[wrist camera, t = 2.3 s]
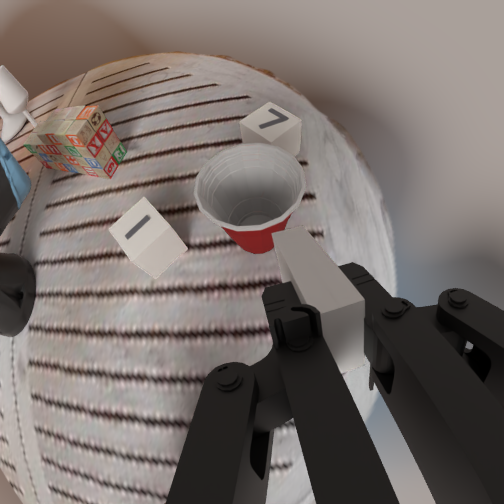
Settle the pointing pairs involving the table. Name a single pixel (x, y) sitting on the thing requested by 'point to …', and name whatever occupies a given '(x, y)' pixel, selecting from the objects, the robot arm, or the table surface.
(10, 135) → the flower in vase
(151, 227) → the marked block 1
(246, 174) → the plastic cup
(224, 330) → the table surface
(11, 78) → the champagne flute
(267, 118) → the marked block 7
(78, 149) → the stack of blocks
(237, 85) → the table surface
